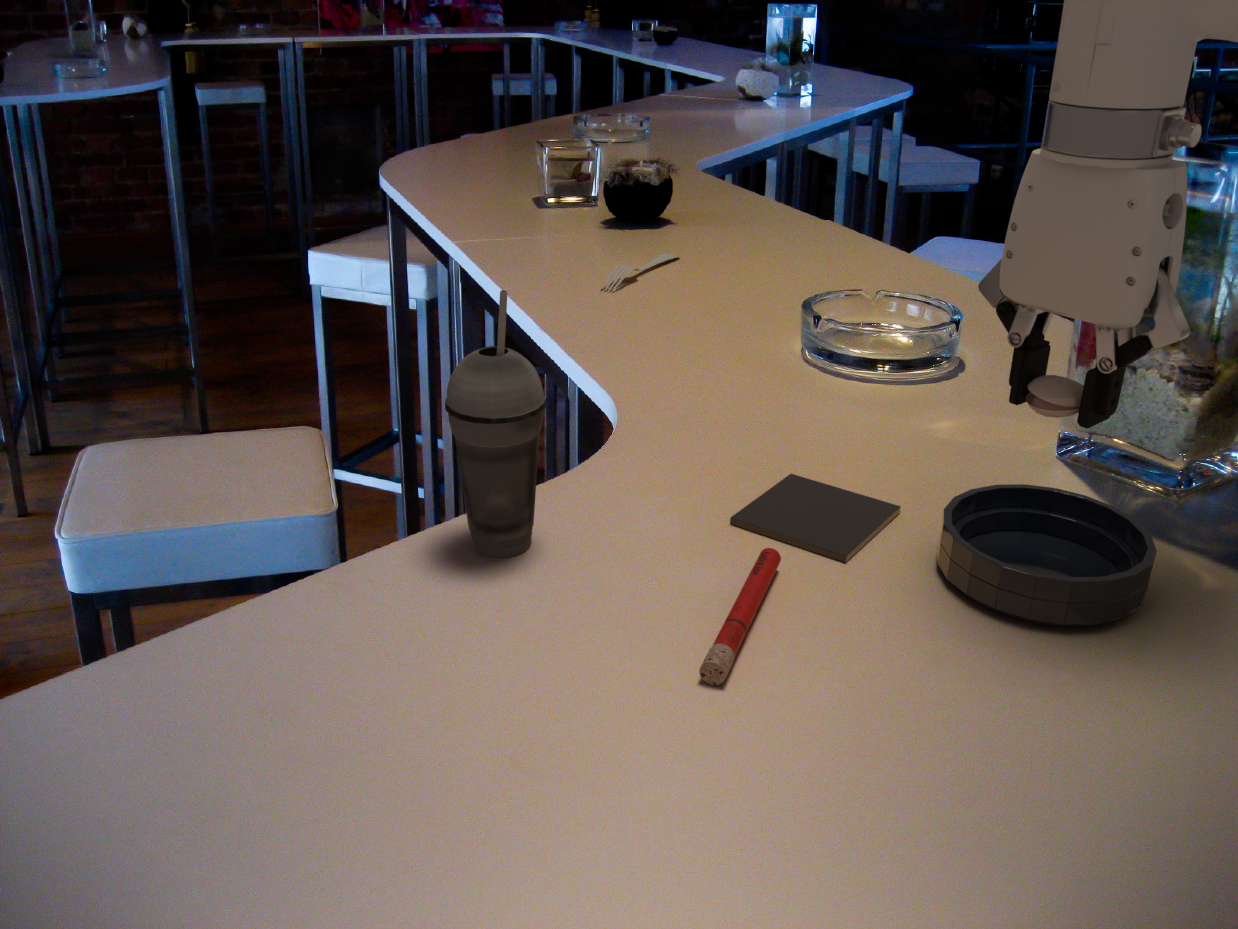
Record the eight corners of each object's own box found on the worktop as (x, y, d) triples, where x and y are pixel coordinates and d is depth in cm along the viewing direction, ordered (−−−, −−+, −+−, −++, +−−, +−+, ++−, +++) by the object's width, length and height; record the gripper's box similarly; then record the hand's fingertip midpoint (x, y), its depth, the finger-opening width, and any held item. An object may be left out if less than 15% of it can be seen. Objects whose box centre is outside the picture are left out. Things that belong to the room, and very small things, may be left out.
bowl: (1008, 512, 88) (1016, 468, 86) (1181, 586, 78) (1194, 537, 76) (896, 568, 80) (903, 520, 78) (1073, 658, 70) (1085, 605, 68)
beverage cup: (497, 511, 87) (486, 267, 79) (568, 538, 84) (565, 285, 75) (433, 547, 82) (414, 290, 73) (506, 578, 78) (494, 310, 70)
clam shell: (1017, 400, 76) (1023, 366, 75) (1092, 403, 75) (1098, 369, 74) (1031, 424, 72) (1037, 389, 71) (1109, 427, 72) (1116, 392, 70)
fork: (682, 273, 160) (683, 254, 159) (615, 293, 143) (616, 272, 142) (664, 271, 161) (666, 252, 160) (596, 290, 144) (597, 269, 143)
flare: (698, 682, 67) (699, 659, 67) (758, 566, 80) (759, 546, 79) (724, 688, 67) (726, 665, 66) (780, 570, 79) (782, 550, 79)
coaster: (790, 479, 93) (790, 473, 93) (900, 512, 88) (900, 506, 87) (729, 523, 86) (730, 517, 86) (845, 563, 80) (846, 556, 80)
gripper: (1282, 144, 62) (1209, 435, 70) (1020, 113, 74) (983, 365, 82) (1221, 159, 58) (1151, 467, 66) (954, 124, 70) (922, 388, 78)
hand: (1058, 408), depth 74 cm, fingers closed on clam shell, 4 cm apart
